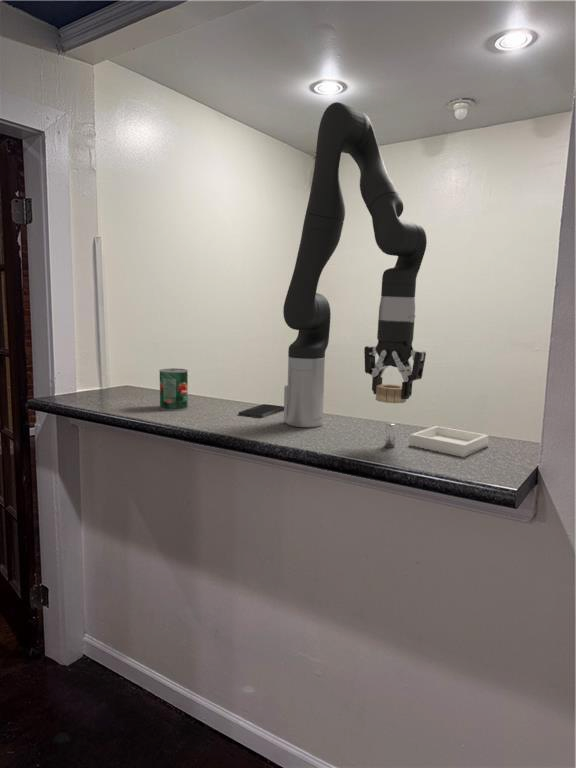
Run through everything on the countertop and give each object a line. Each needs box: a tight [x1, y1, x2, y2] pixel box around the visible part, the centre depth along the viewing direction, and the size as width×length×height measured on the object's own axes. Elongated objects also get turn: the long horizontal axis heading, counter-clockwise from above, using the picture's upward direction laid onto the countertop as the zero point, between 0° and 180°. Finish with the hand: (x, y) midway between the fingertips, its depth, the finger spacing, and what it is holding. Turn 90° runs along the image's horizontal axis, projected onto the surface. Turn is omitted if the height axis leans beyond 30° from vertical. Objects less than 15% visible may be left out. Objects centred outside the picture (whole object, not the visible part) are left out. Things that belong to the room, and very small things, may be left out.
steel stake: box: [384, 422, 397, 448], centre depth 118 cm, size 2×2×5 cm
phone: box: [238, 403, 284, 419], centre depth 152 cm, size 8×1×15 cm
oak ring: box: [375, 383, 407, 404], centre depth 117 cm, size 6×6×3 cm
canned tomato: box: [158, 368, 189, 412], centre depth 154 cm, size 8×8×11 cm
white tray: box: [408, 425, 490, 458], centre depth 119 cm, size 13×13×2 cm
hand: (391, 396), depth 117 cm, fingers closed on oak ring, 6 cm apart
